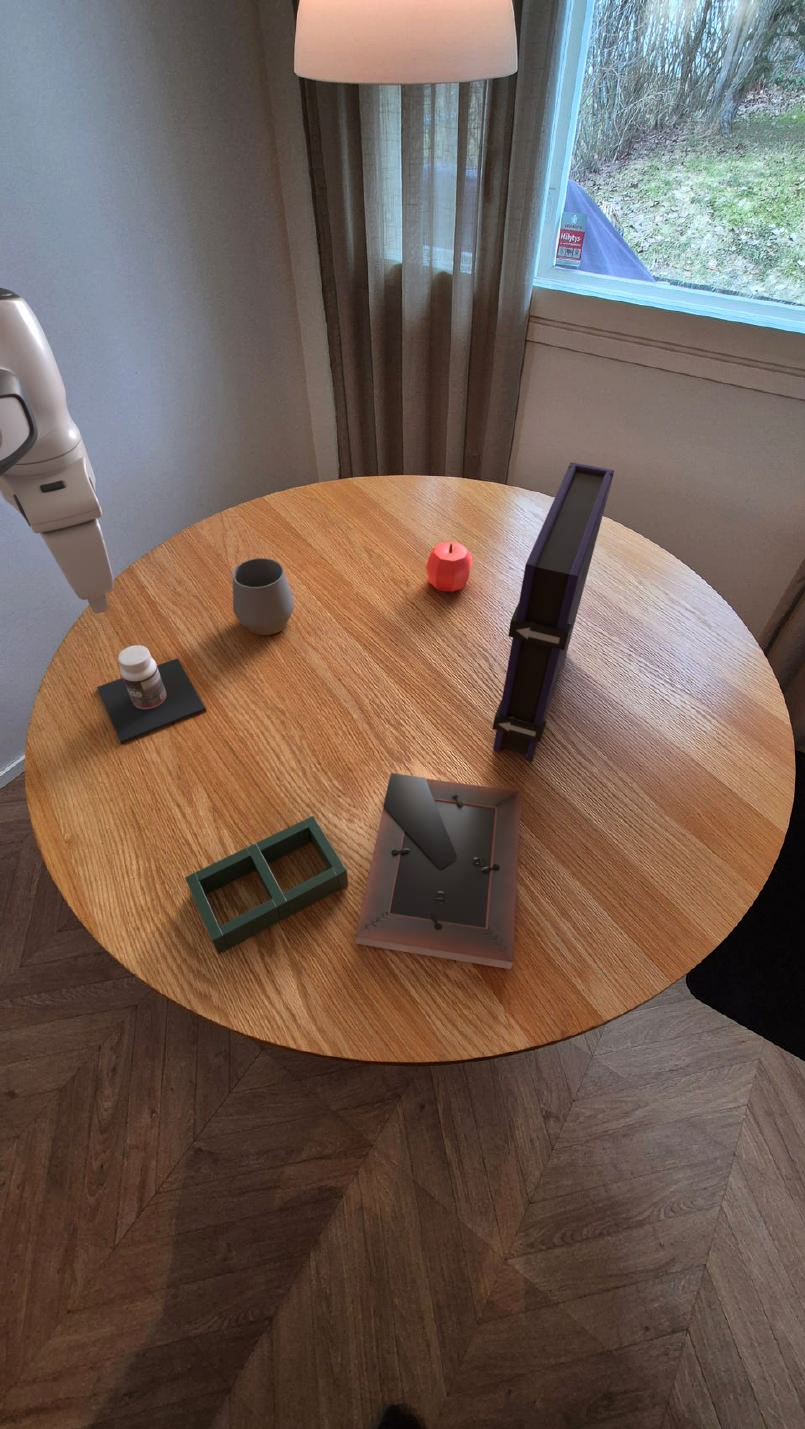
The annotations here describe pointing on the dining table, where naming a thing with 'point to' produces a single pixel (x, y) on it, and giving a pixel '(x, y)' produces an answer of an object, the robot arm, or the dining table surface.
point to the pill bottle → (141, 677)
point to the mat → (143, 721)
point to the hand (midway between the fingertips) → (89, 586)
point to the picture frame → (444, 872)
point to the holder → (267, 883)
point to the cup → (262, 596)
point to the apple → (449, 566)
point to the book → (549, 606)
